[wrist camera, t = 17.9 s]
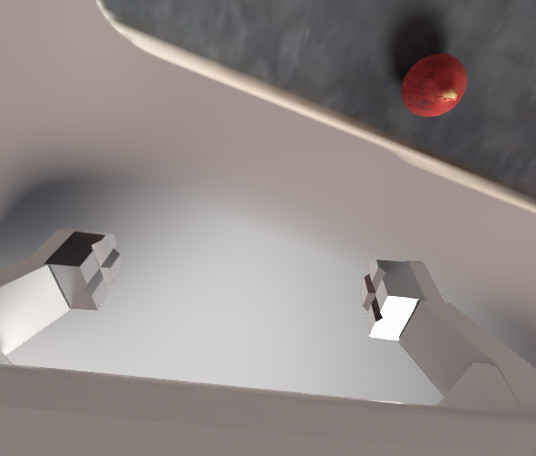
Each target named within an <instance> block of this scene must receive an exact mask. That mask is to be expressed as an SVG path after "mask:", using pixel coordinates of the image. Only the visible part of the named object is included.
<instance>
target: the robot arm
mask: <svg viewBox="0 0 536 456" xmlns="http://www.w3.org/2000/svg"><path fill="white" fill-rule="evenodd" d="M116 244H117V243H116V240H115V237H114V235H112V234H110V233H103V232H95V231H86V230H75V229H65V228H63V229H59V230H58V231H57V232H56V233H55V234H53V235H52V236H51V237H50V238H49V239H48V240H47V241H46V242H45V243H44V244H43V245H42V246H41V247H40V248H39V249H38V250H37V251H36V252H35V253H34V254H32V256H31V257H29V258H28V259H27V260H26V261H25V262H18V263H15V264H13V265H11V266H9V267H6V268H4V269H1V270H0V456H536V370H535V368H534V367H533V366H532V365H530V364H529V363H528V362H526V361H525V360H524V359H522V358H521V357H520V356H518V355H517V354H516V353H514V352H513V351H512V350H510V349H509V348H508V347H507V346H505V345H504V344H503V343H502V342H500V341H499V340H498V339H496V338H495V337H494V336H492V335H491V334H490V333H488V332H487V331H486V330H484V329H483V328H482V327H480V326H479V325H478V324H477V323H475V322H474V321H473V320H471V319H470V318H469V317H467V316H466V315H465V314H464V313H462V312H461V311H460V310H458V309H457V308H456V307H454V306H453V305H452V304H450V303H445V302H444V300H443V298H442V296H441V294H440V292H439V290H438V289H437V287H436V285H435V283H434V281H433V279H432V277H431V275H430V273H429V271H428V269H427V268H426V266H425V264H424V263H422V262H417V261H400V260H389V259H377V258H372V260H371V261H370V263H369V265H368V270H369V274H368V275H367V276H365V277H364V279H363V282H362V287H361V301H362V305H363V307H364V308H365V309H366V310H367V311H368V313H367V316H366V322H367V326H368V330H369V334H370V337H378V338H386V339H394V340H398V342H399V343H400V345H401V346H402V347H403V348H404V349H405V351H406V352H407V353H408V354H409V355H410V357H411V358H412V359H413V360H414V361H415V363H416V364H417V365H418V366H419V367H420V369H421V370H422V371H423V372H424V373H425V374H426V376H427V377H428V378H429V379H430V381H431V382H432V383H433V384H434V385H435V386H436V388H437V389H438V390H439V391H440V393H441V394H442V395H443V396H444V397H443V398H442V399H441V400H440V401H439V402H438V403H437V405H436V406H432V405H421V404H410V403H401V402H391V401H380V400H370V399H360V398H350V397H340V396H329V395H319V394H310V393H299V392H289V391H278V390H269V389H258V388H247V387H238V386H228V385H217V384H206V383H197V382H187V381H177V380H166V379H156V378H146V377H135V376H125V375H115V374H105V373H95V372H84V371H73V370H65V369H54V368H44V367H34V366H23V365H13V364H12V363H11V362H10V361H9V360H8V358H7V357H6V356H5V355H7V354H8V353H10V352H11V351H12V350H14V349H15V348H17V347H18V346H19V345H21V344H22V343H24V342H25V341H26V340H28V339H29V338H31V337H32V336H33V335H35V334H36V333H37V332H39V331H41V330H42V329H43V328H45V327H46V326H48V325H49V324H50V323H52V322H53V321H55V320H56V319H57V318H59V317H60V316H62V315H63V314H64V313H66V312H67V311H69V308H73V309H87V310H98V309H99V307H100V306H101V304H102V303H103V301H104V300H105V298H106V296H107V295H108V290H107V287H109V286H110V285H112V284H114V283H115V282H116V280H117V279H118V277H119V275H120V271H121V268H122V260H121V256H120V254H119V253H118V252H117V251H116V250H115V249H114V247H115V246H116Z"/></svg>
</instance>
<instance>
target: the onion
mask: <svg viewBox="0 0 536 456" xmlns="http://www.w3.org/2000/svg"><path fill="white" fill-rule="evenodd" d="M466 85H467V76H466V70H465V68H464V66H463V65H462V63H461V62H460V60H458V59H457V58H455V57H453V56H451V55H449V54H447V53H444V54H433V55H429V56H427V57H425V58H423V59H420V60H419V61H418V62H417V63H416V64H414V65H413V66H412V67H411V68H410V70H409V71H408V73H407V74H406V76H405V77H404V80H403V84H402V88H401V94H402V99H403V103H404V105H405V106H406V107H407V108H408V109H409V110H410V111H411V112H412V113H414V114H417V115H420V116H424V117H430V116H438V115H440V114H443V113H445V112H447V111H449V110H450V109H451V108H453V107H454V106H455V105H456V104H458V102H459V101H460V99H461V98H462V96H463V94H464V92H465V89H466Z"/></svg>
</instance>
